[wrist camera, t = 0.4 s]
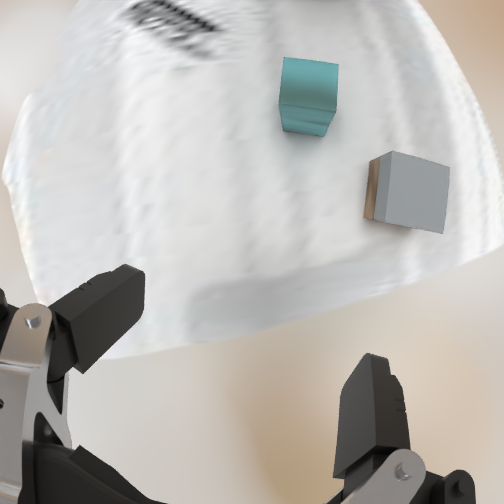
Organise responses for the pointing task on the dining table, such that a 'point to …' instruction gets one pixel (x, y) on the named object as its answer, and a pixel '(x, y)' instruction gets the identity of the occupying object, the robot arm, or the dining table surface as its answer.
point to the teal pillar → (308, 95)
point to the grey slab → (412, 192)
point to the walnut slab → (372, 189)
